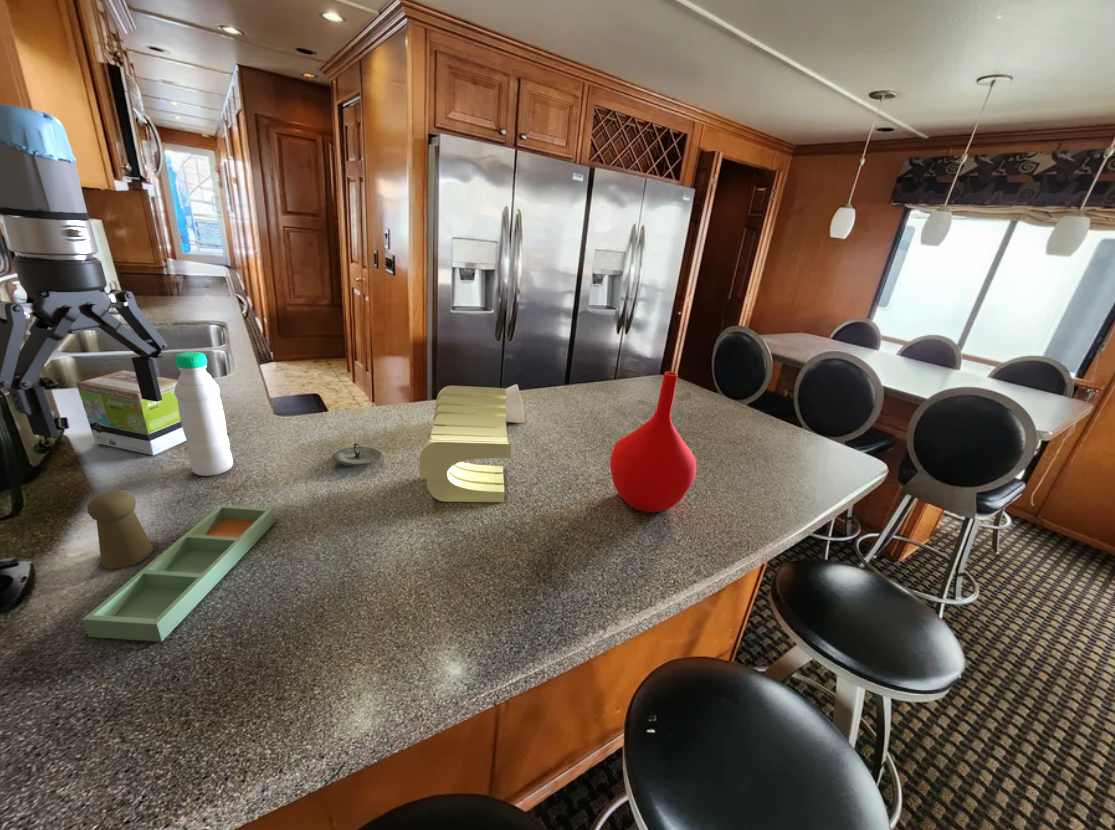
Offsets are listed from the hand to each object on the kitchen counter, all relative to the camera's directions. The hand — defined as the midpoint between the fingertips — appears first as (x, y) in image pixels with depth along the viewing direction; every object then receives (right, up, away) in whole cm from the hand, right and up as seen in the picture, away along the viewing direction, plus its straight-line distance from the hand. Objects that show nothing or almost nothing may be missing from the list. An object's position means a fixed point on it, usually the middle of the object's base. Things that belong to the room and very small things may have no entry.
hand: (104, 415), depth 64 cm
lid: (+17, -11, +42) cm, 46 cm away
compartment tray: (+8, -24, +7) cm, 26 cm away
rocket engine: (+44, -1, +72) cm, 85 cm away
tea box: (-30, -6, +40) cm, 51 cm away
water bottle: (-10, -11, +33) cm, 36 cm away
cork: (-4, -22, +8) cm, 24 cm away
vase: (+83, -19, +39) cm, 94 cm away
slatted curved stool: (+43, -16, +37) cm, 59 cm away
